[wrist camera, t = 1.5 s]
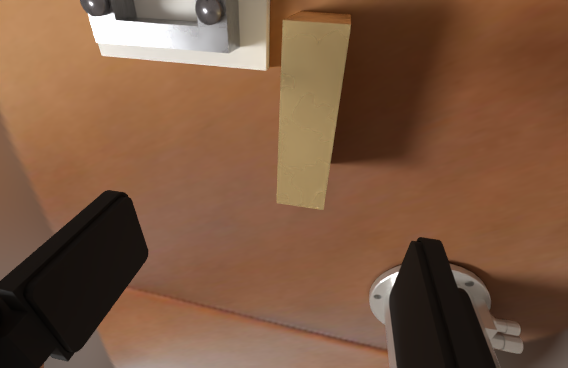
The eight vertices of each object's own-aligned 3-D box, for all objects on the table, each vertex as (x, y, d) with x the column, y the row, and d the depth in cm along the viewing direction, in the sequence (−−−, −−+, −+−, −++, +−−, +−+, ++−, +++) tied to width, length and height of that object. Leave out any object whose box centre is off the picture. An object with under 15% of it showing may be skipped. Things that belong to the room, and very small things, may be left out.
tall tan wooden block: (350, 14, 21) (351, 24, 15) (328, 163, 27) (323, 209, 22) (301, 11, 21) (282, 20, 15) (291, 158, 28) (276, 203, 22)
